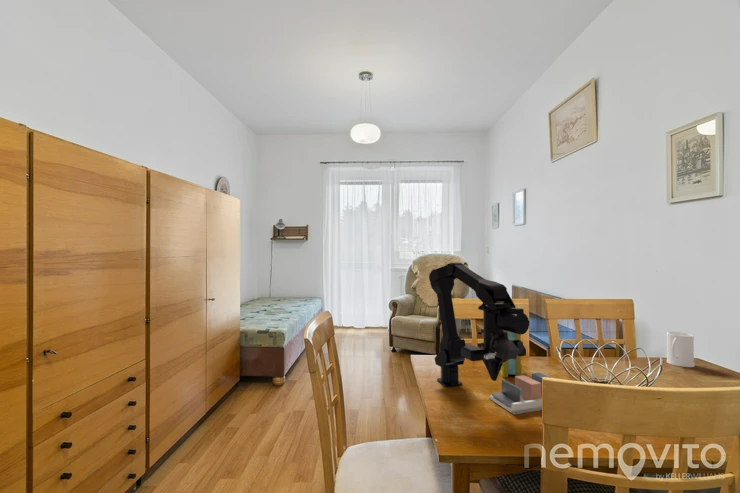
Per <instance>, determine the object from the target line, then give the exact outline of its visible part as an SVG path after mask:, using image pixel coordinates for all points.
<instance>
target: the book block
mask: <svg viewBox="0 0 740 493" xmlns="http://www.w3.org/2000/svg"><path fill="white" fill-rule="evenodd" d="M514 385H515V386H517V387H519V388H521V389H522V398H523V399H524V400H526V401H528V400H535V399H541V383H540V382H538V381H535V380H533V379H532V377H529V376H527V375H524V374H522V376H515V375H514Z"/></svg>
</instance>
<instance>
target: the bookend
mask: <svg viewBox="0 0 740 493" xmlns="http://www.w3.org/2000/svg"><path fill="white" fill-rule="evenodd" d="M491 395H492V396H493V397H495V398H496V399H498V400H500V401H501V402H503V403H504V404H506V405H508V406H509V407H511V406H512V403H515V402H522V389H521V388H519V387H517V386H515V384H514V383H511V382H510V381H507V380H505V379H501V392H500V391H499V392H493V393H491Z"/></svg>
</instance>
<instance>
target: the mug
mask: <svg viewBox="0 0 740 493" xmlns="http://www.w3.org/2000/svg"><path fill="white" fill-rule="evenodd" d="M694 337H695V336H694V335H693V334H691V333H688V332H687V333H686V332H681V331H668V332H666V349H667V350H666V356H667V357H666V364H667V363H668V364H670V365H671V366H672V365H673V366H676V367H682V368H694V367H696V364H695V354H694V352H695V346H694V345H695V344H694V343H695V342H694V341H695V340H694Z"/></svg>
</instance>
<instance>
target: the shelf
mask: <svg viewBox="0 0 740 493" xmlns="http://www.w3.org/2000/svg"><path fill="white" fill-rule="evenodd" d="M542 377H549V378H552V377H550V376H548V375H546V374H544V373H542V372H533V373H531V379H533V380H535V381H538V382H540V383H541V399H535V400H528V401H526V400H524V399H523V398H522V402H515V403H512V406H511V407H509V406H508V405H506V404H504V403H503V402H501V401H500V400H498V399H496V398H495V397H493V396H492V394H491V395H489V400H491V401H492V402H494V403H496V404H497V405H499V406H500V407H502V408H503V409H504V410H506V411H508V412H510V413H511V414H513V415H520V414H521V415H522V414H525V413H526V414H527V413H534V412H537V411H542V410H541V409H542Z"/></svg>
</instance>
